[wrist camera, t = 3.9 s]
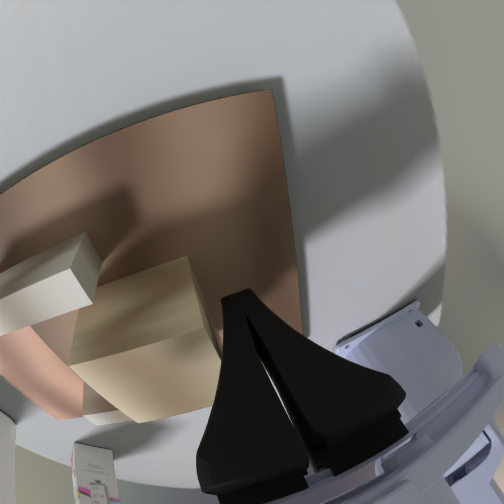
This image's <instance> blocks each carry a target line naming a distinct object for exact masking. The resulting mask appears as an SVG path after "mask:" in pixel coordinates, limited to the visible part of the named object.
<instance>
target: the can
mask: <svg viewBox="0 0 504 504" xmlns="http://www.w3.org/2000/svg"><path fill="white" fill-rule="evenodd" d="M15 439H16V425H15V424H14V421H13V420H12V419H11V418H10V417H9V416H8V415H7V414H5V413H4V412H3V411H1V410H0V504H16V494H15V468H14V467H15Z"/></svg>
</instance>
